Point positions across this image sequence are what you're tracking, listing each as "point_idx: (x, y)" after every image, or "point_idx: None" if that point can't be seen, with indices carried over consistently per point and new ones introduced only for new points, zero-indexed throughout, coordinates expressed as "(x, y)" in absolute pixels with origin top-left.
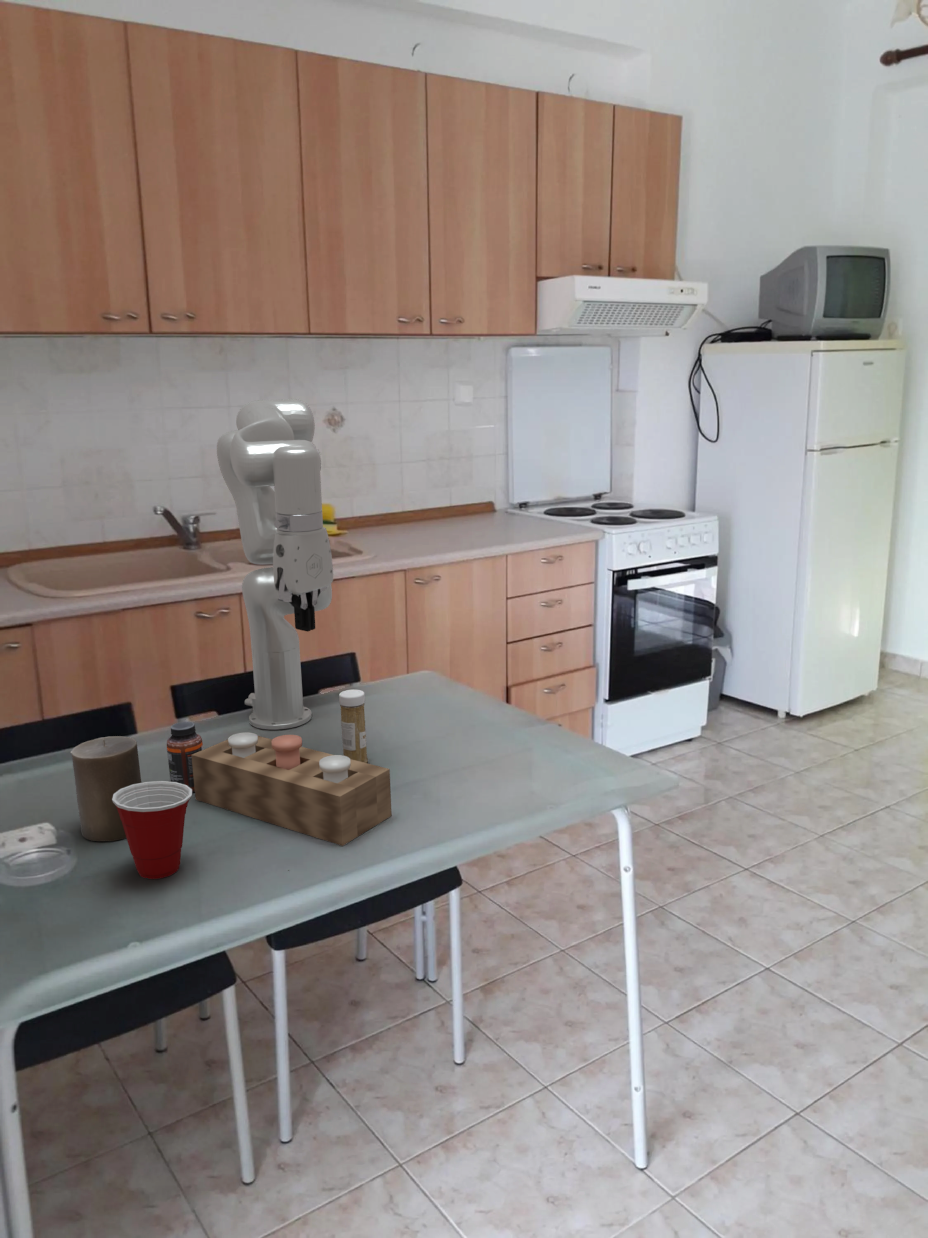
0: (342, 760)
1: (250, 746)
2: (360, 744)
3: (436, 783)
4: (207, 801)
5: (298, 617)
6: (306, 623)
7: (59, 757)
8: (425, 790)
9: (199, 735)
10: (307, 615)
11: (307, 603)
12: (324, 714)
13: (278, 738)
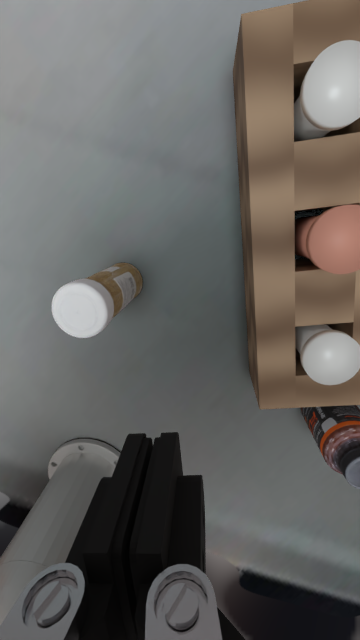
0: (329, 70)
1: (337, 330)
2: (117, 268)
3: (94, 110)
4: None
5: (202, 539)
6: (176, 472)
7: (340, 580)
8: (125, 103)
9: (333, 444)
10: (169, 508)
11: (106, 626)
12: (38, 442)
13: (346, 263)
